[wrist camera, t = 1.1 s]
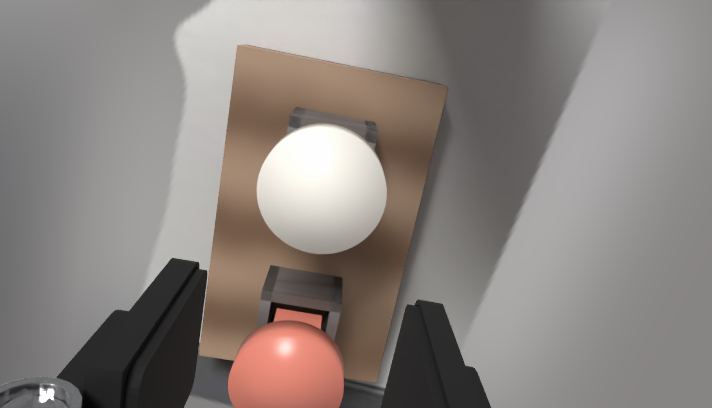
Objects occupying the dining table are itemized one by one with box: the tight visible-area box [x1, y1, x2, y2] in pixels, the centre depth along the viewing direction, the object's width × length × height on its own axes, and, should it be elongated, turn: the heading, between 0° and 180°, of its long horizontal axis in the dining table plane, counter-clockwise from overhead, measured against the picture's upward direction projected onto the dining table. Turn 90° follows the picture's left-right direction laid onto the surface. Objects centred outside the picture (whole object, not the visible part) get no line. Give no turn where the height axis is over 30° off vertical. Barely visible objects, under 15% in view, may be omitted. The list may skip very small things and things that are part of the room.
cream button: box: [257, 123, 387, 254], centre depth 25 cm, size 6×6×5 cm
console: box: [199, 45, 448, 383], centre depth 32 cm, size 20×12×6 cm, turn 169°
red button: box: [228, 308, 344, 408], centre depth 28 cm, size 6×6×5 cm
